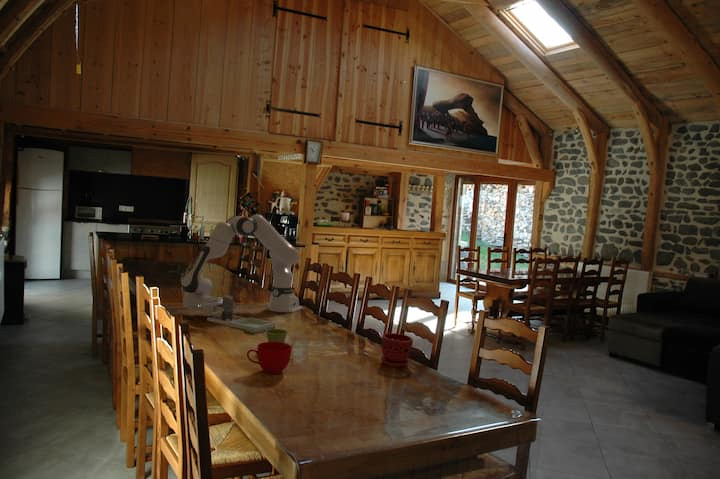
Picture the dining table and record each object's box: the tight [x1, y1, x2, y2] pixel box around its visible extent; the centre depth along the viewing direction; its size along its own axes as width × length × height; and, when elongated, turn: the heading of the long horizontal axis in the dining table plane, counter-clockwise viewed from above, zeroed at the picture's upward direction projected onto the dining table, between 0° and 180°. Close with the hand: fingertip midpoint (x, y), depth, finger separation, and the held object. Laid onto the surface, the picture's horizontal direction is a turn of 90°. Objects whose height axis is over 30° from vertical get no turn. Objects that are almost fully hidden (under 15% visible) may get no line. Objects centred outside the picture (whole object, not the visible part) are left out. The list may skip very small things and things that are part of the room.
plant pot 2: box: [380, 332, 414, 368], centre depth 232 cm, size 13×13×12 cm
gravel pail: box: [221, 294, 235, 321], centre depth 283 cm, size 6×6×13 cm
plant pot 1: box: [265, 328, 289, 343], centre depth 238 cm, size 9×9×9 cm
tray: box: [206, 314, 247, 326], centre depth 283 cm, size 14×14×3 cm
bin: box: [229, 317, 276, 335], centre depth 275 cm, size 16×16×3 cm
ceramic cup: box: [246, 341, 293, 375], centre depth 209 cm, size 13×17×10 cm
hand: (228, 308), depth 282 cm, fingers closed on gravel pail, 5 cm apart
